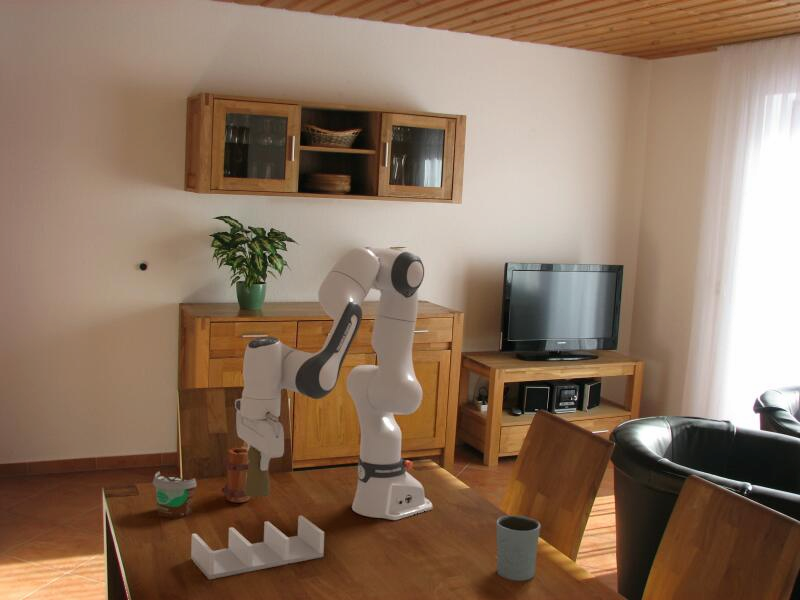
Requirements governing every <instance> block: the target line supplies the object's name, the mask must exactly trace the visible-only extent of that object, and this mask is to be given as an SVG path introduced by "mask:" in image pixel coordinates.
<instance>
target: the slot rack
mask: <svg viewBox="0 0 800 600" xmlns="http://www.w3.org/2000/svg"><path fill="white" fill-rule="evenodd" d="M297 520H298V521H297V535H294V536H289V537H288V536H287V535H286V534H285V533H283V532H282V531H281V530H280V529H278V528H277V527H276V526H275V525H274V524H272V523H271V522H270V521H268V520H267V521H264V524H263V525H264V527H263V528H264V529H263V541H261V542H255V543H251V542H250V541H249V540H247V538H245V537H244V536H243V535H242V534H241V533H240V532H239V531H238V530H237V529H236V528H234V526H233V527H229V528H228V548H221V549H218V550H217V549H216V550H213V549H211V547H210V546H209V545H208V544H207V543H206V542H205V541H204V540H203V539H202V538H201V537H200V536H199V535H198V534H197V532H196V533H192V534H191V543H190V544H191V547H190V549H191V550H190V551H191V553H190V560H191V559H192V560H193V563H194V564H195V565H196V566H197V567H198V569H199V570H200V571H201V572H202V573H203V574H204V576H206V578H207V579H208V580H213V579H217V578H218V579H219V578H223V577H228V576H229V577H230V576H232V575H233V576H234V575H237V574H242V573H243V574H244V573H249V572H253V571H258V570H263V569H270V568H273V567H279V566H285V565H288V564H289V563H290V564H294V563H298V562H303V561H311V560H314V559H319V558H320V559H321V558H323V557H324V554H325V553H324V551H325V550H324V549H325V531H323V530H322V529H320V528H319V527H318V526H317V525H315V524H314V523H312V522H311V521H310V520H309V519H307V518H306V517H305V516H303V515H298V518H297ZM192 560H191V561H192ZM290 564H289V565H290Z"/></svg>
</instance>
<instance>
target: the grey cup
mask: <svg viewBox="0 0 800 600" xmlns="http://www.w3.org/2000/svg"><path fill="white" fill-rule="evenodd" d="M540 530H541V523H540V522H539V521H538V520H536V519H533V518H531V517H527V516H522V515H505V516H501V517H499V518H497V520H496V542H497V543H496V545H497V548H496V551H497V553H496V555H497V562H496V573H497V574H498V575H499V576H500V577H502V578H504V579H507V580H510V581H516V582H517V581H519V582H521V581H524V582H525V581H529V580H531V579H532V578H533V577H534V575H535V573H536V572H535V571H536V559H537V553H538V552H537V551H538V546H539V545H538V543H539V537H540Z"/></svg>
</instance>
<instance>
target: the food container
mask: <svg viewBox="0 0 800 600" xmlns="http://www.w3.org/2000/svg"><path fill="white" fill-rule="evenodd" d="M152 485H153V487H155V495H156V507H157V509H156V510H157V515H158V516H160V517H162V518H165V517H167V518H166V519H180V517H182V518H185V517H184V516H187V517H189V516H188V515H190V516H192V514H193V513H192V511H193V504H194V503H193V502H194V494H195V488H196V487H197V480H196V478H195V477H193V478H192V479H189V480H187V479H184V478H181V477H179V476H168V475H162V474H161V471H157V472H156V473H155V475H154V477H153V480H152Z"/></svg>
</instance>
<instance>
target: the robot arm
mask: <svg viewBox="0 0 800 600" xmlns="http://www.w3.org/2000/svg"><path fill="white" fill-rule="evenodd" d="M424 277H425V267H424V264H423V261H422V259H421V258H420V256H418V255H416V254H414V253H411V252H409V251H401V250H399V249H393V248H380V247H379V248H376V247H375V248H374V247H370V246H368V247H365V246H364V247H363V246H355V247H351V248H349V250H347V252H345V253H344V254H343V255H342V256H341V257H340V259H339V260H337V261H336V263H335V264H334V265H333V266H332V268H331V269H330V270H329V272H328V273H327V275H326V276H325V277H324V279H323V281H322V282H321V284H320V286H319V289H318V291H317V296H318V297H317V298H318V302H319V305H320V307H321V308H322V309H323V311H324V312H325V314H326V315H328V317H329V318H331V319H332V320H333V325H332V328H331V329H330V331H329V333H328V336H327V337H326V339H325V342H324V344H323V346H322V347H321V349H320V350H319V351H317V352H314V353H312V352H307V351H303V350H299V349H296V348H293V347H291V346H288V345H286V344H284V343H283V342H281V340H280V338H278V337H275V336H260V337H259V336H258V337H257V338H253V339H251V340H250V341H249V342H248V343H247V346H246V348H245V352H244V357H243V366H242V378H243V383H244V385H243V390H242V393H241V398H238V399H235V402H234V408H235V409H236V415H235V416H236V417H235V419H236V422H235V423H236V433H237V436H238V438H240V439H241V440H242V441H243V442H244V441H245V442H247V443H248V450H249V448H251V447H254V448H255V449H257V450H258V451H260V452H261V456H262V457H261V461H260V462H259V469H261V470H262V471H264V470H268V471H269V463H270V461H271V459H275V458H282V457H283V456H284V453H285V433H284V426H283V424H282V423H281V422H280V421H279V417H280V415H281V404H282V403H281V402H282V401H281V400H282V393H281V390H283V389H285V390H288V391H291V392H294V393H299V394H301V395H303V396H306V397H308V398H311V399H314V400H319V399H323V398H324V397H326V396H329V394H330V393H331V392H333V390H334V389H335V387H336V386H337V383H338V380H339V376H340V372H341V368H342V366H343V363H344V362H345V359H346V356H347V355H348V352H349V350H350V348H351V346H352V344H353V341H354V339H355V338H356V335H357V333H358V331H359V329H360V326H361V322H362V318H363V311H362V308H361V307H362V305H363V302H364V301H365V299H366V297H367V296H368V294H369V292H370V291H371V289H372V290H375V291H379V292H380V296H379V300H378V303H377V307H376V313H375V319H374V323H373V328H372V329H373V330H372V335H371V340H370V341H371V346H372V348H373V350H374V352H375V354H376V358H377V364H378V365H375V364H363V365H362V364H360V365H356V366H355V367H354V368H352V369H351V371H350V372H349V373H348V375H347V377H346V384H345V386H346V390H347V392H348V394H349V396H350V397H351V399H352V400H353V403H354V406H355V410H356V413H357V417H358V421H359V429H360V449H359V450H360V451H359V457H358V458H357V459H358V460H357V461H358V462H357V463H358V464H357V487H356V492H355V494H354V495H355V496H354V499H353V502H352V506H351V508H352V511H354V512H355V513H356V514H359V515H361V516H363V517H364V516H365V517H369V518H377V519H380V518H381V519H385V520H391V521H397V520H398V521H399V520H400V519H404V518H407V517H411V516H414V514H415V515H418V514H421V513H424V511H425V512H428V511H431V510H433V503H432V502H431V500H429V499H428V498H427V497H425V489H424V487H423V484H422V483H421V482H420V481H419V480H417V478H415V477H413V475H412V474H410V473H409V472H407V470H411V469H413V467H414V466H413V465H414V463H413V462H412V461H410V460H409V459H406V460H405V459H404V458H402V457H401V455H402V430H401V427H400V426H399V425H398V423H397V421H396V419H395V416H394V415H400V416H401V415H402V416H403V415H406V416H407V415H411V414H413V413H414V412H416V411H417V409H418V408H419V407H420V405H421V404H422V400H423V395H424V394H423V388H422V386H421V384H420V382H419V381H418V378H417V376H416V373H415V369H414V363H413V344H414V336H415V330H416V325H417V320H418V319H417V318H418V310H419V288H420V286H422V283H423V281H424ZM406 468H407V470H406ZM417 513H418V514H417Z"/></svg>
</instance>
